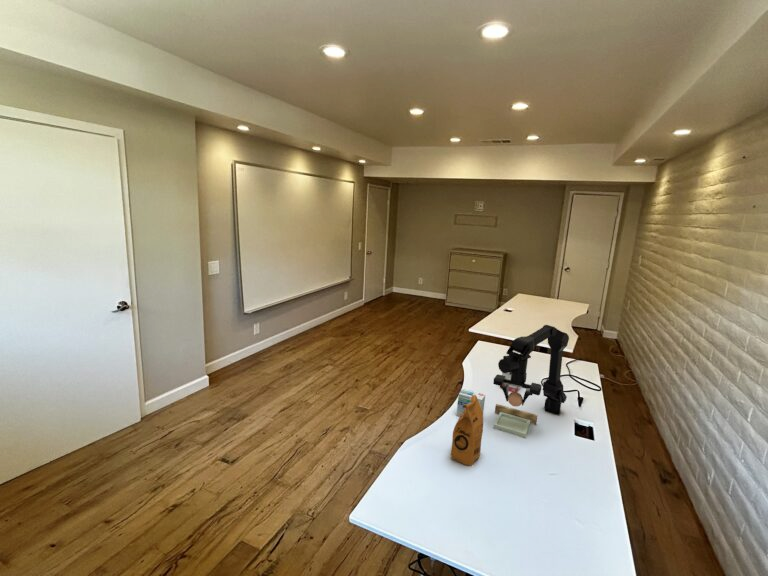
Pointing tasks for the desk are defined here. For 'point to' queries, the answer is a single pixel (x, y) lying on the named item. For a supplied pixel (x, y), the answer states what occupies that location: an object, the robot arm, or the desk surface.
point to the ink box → (511, 387)
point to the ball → (515, 399)
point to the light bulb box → (468, 400)
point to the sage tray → (512, 424)
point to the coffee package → (468, 434)
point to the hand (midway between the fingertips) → (514, 403)
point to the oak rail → (516, 413)
